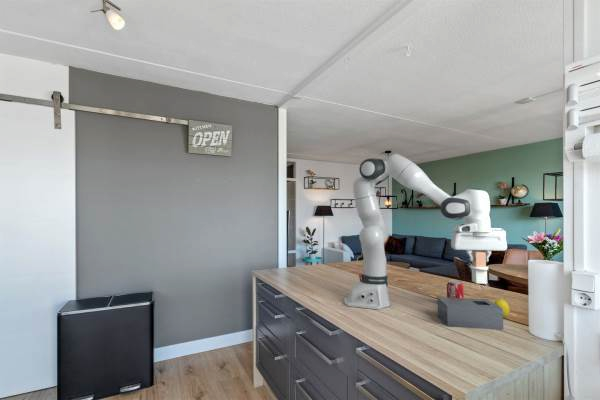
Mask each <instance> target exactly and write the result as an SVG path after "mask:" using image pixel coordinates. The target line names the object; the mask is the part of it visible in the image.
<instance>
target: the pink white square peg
mask: <svg viewBox="0 0 600 400" xmlns="http://www.w3.org/2000/svg"><path fill="white" fill-rule="evenodd" d="M471 255H472V256H473V257H475V261H471V263H472V264H470V265H469V269H471V282H473V283H475V284H479V285H480V284H484V285H485V284H487V285H488V271H489V266H487V262H486V252H485V251H483V250H472V253H471Z"/></svg>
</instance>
